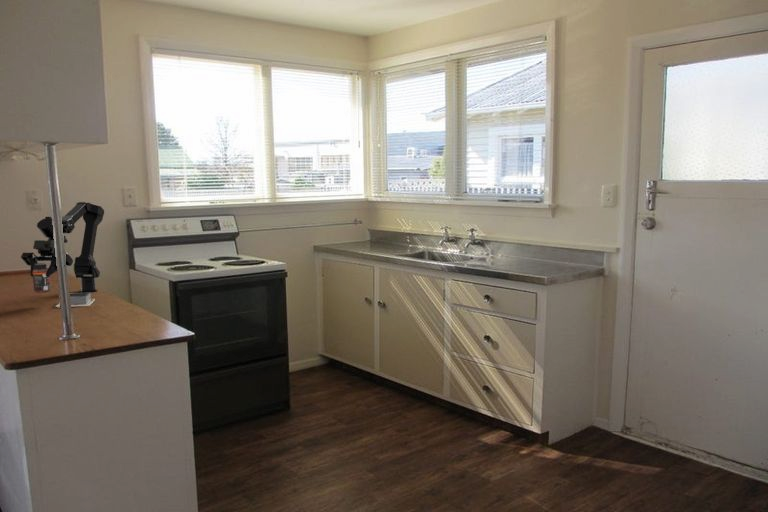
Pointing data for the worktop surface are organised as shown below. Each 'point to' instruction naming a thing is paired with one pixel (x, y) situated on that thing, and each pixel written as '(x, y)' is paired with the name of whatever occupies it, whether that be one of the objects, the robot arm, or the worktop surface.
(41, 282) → the supplement bottle
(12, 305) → the worktop surface
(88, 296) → the square collar
